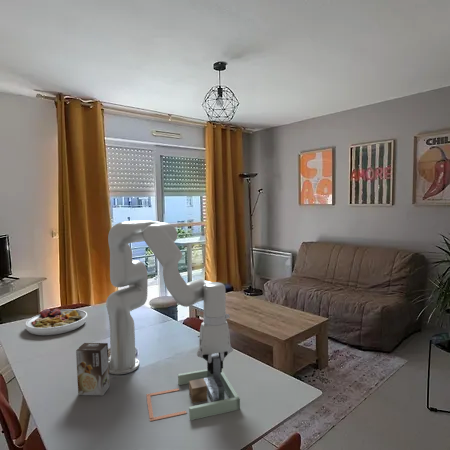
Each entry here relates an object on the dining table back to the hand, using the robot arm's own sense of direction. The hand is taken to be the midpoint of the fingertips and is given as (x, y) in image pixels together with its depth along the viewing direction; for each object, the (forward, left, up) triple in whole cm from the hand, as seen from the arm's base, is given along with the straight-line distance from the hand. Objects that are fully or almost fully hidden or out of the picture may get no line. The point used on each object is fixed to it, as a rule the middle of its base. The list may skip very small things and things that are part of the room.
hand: (215, 371), depth 109 cm
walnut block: (-6, 0, -8) cm, 10 cm away
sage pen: (-3, 0, -8) cm, 9 cm away
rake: (0, 0, -8) cm, 8 cm away
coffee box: (-40, +16, -8) cm, 44 cm away
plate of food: (-64, +89, -9) cm, 110 cm away
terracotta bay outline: (-17, 0, -8) cm, 19 cm away
